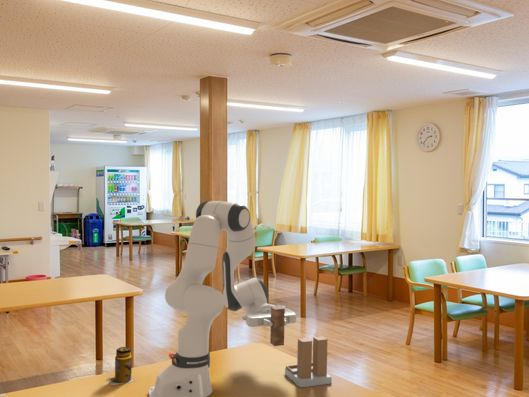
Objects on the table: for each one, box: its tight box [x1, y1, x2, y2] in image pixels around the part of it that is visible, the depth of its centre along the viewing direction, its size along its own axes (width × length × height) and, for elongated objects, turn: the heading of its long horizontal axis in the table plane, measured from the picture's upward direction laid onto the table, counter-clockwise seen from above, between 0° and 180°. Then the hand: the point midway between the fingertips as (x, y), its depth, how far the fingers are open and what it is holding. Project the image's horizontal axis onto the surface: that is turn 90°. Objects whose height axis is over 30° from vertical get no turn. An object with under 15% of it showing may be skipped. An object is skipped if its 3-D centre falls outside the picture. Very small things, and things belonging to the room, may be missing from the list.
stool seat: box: [284, 335, 333, 389], centre depth 195 cm, size 13×14×16 cm
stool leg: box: [269, 305, 285, 347], centre depth 193 cm, size 4×4×14 cm
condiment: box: [106, 346, 135, 386], centre depth 190 cm, size 7×8×12 cm
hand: (278, 323), depth 192 cm, fingers closed on stool leg, 4 cm apart
